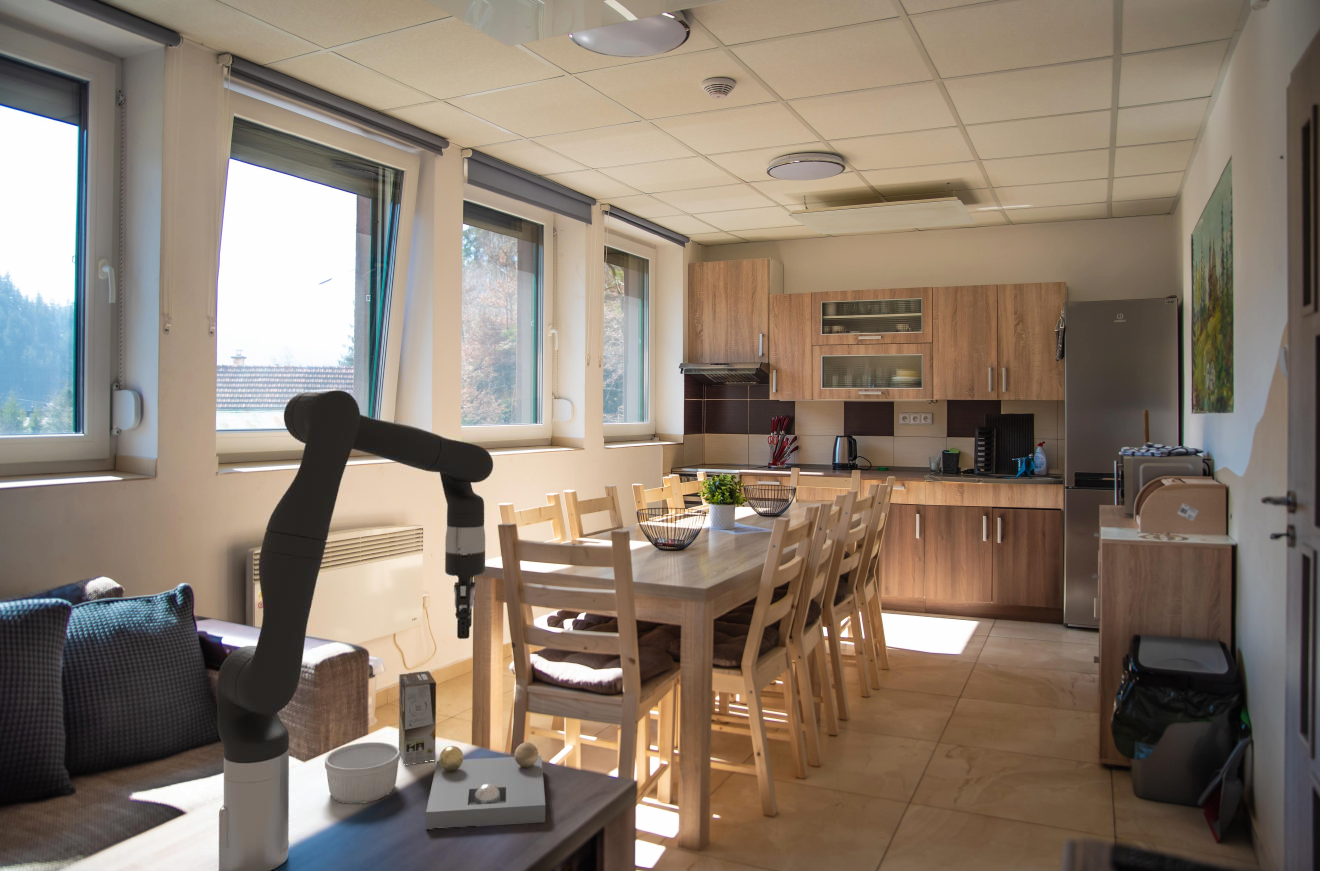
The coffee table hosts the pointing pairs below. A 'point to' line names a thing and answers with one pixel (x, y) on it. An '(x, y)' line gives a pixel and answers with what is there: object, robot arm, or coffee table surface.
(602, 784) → the coffee table surface
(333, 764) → the ramekin
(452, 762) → the brass ball
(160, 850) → the coffee table surface
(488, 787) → the steel ball
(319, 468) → the robot arm
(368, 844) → the coffee table surface
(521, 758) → the oak ball
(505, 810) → the board
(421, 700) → the coffee box
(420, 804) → the coffee table surface
